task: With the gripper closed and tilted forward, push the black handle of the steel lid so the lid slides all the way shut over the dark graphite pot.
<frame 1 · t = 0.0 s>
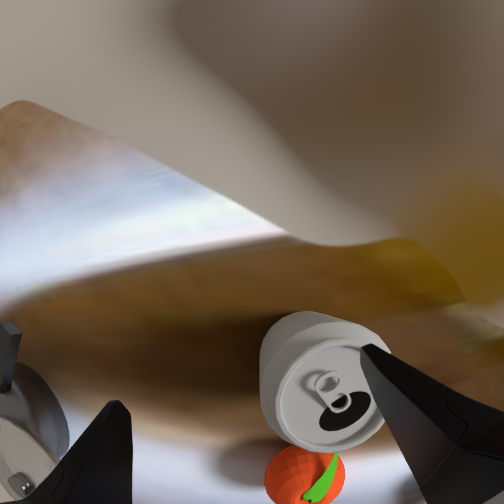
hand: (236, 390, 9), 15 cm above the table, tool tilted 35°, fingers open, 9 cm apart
pot: (30, 412, 23), on the table
lid: (10, 494, 10), point 12 cm above the table, slide at 7.0 cm
can: (303, 352, 24), on the table
clementine: (302, 454, 22), on the table
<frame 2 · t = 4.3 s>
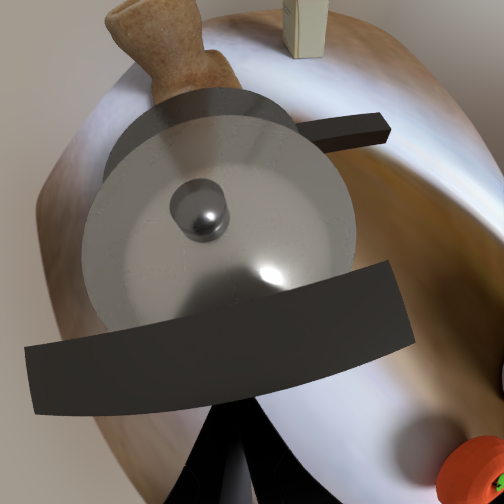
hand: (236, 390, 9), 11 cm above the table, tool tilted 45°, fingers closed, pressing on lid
pot: (218, 210, 24), on the table
lid: (188, 188, 11), point 12 cm above the table, slide at 5.8 cm, touching gripper
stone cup: (188, 94, 31), on the table
clementine: (458, 461, 15), on the table
skincare box: (303, 50, 33), on the table
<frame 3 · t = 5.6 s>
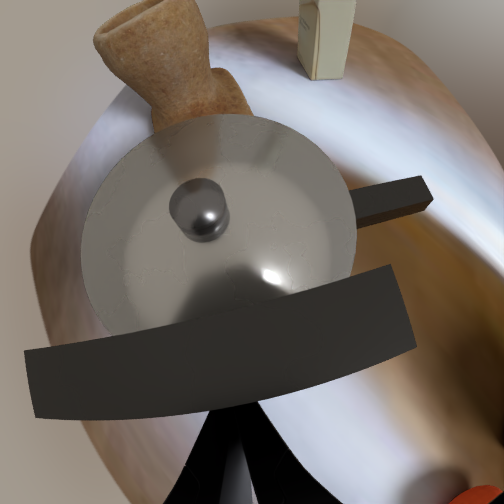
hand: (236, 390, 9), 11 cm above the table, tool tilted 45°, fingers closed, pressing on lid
pot: (233, 276, 22), on the table
lid: (188, 188, 11), point 12 cm above the table, slide at -0.2 cm, touching gripper
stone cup: (192, 122, 29), on the table
clementine: (458, 503, 13), on the table
skincare box: (319, 68, 31), on the table
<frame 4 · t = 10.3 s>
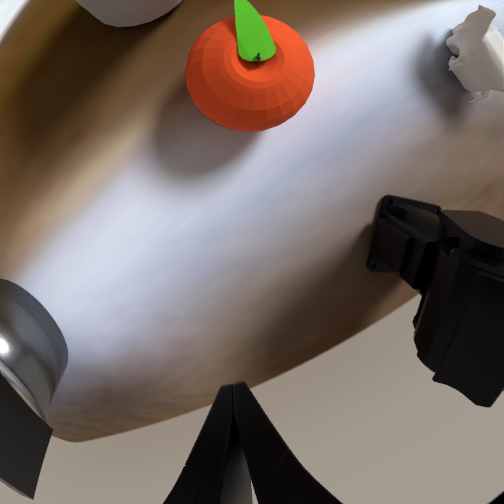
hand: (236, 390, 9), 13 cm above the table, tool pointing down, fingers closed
pot: (18, 332, 22), on the table
elephant figurine: (459, 58, 16), on the table
clementine: (242, 75, 16), on the table
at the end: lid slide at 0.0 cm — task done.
